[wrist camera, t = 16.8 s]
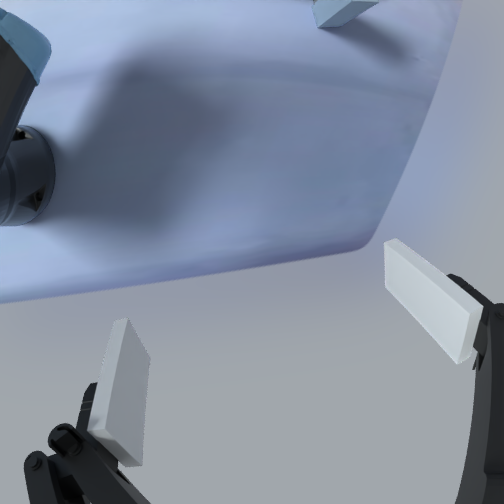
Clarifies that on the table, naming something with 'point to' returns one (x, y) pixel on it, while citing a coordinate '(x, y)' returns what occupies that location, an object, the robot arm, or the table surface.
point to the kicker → (339, 11)
